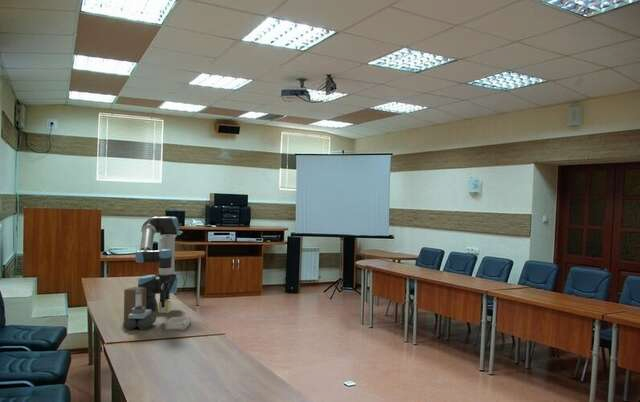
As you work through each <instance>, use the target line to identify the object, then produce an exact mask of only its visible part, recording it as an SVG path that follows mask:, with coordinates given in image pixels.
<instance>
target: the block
mask: <svg viewBox="0 0 640 402" xmlns="http://www.w3.org/2000/svg"><path fill="white" fill-rule="evenodd" d="M136 290H142V307H145V309H146V288H143V287H138V286H132V287H129V288H126V289H124V291H123V295H124V297H123V298H124V299H123V322H124V321H125V320H126V319H127V318H128V315H129V314H131V313H132V308H134V307H135V304H136Z"/></svg>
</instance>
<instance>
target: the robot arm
mask: <svg viewBox="0 0 640 402" xmlns="http://www.w3.org/2000/svg"><path fill="white" fill-rule="evenodd" d="M179 227H180V225H179V219H178V217H177V216H153V217H150V218H148V219H147V220H146V221H145V222H144V223H143V224H142V226H141V240H140V247H139V250H136V251H135V256H134V257H135V262H136V263H141V264H142V263H158V269H157V270H158V276H156V274H148V275H142V276H140V277H139V278H138V279H137V287H143V288H146V309H149V310H152V312H153V311H156V310H159V303H158V301H157V298H156V297H157V296H156V294H157V295H158V294H159V302H161V312H166V302H165V301H169V300H171V296H170V294H174V293H175V294H176V292H177V288H178V283H179V275H178V276H177V272H176V271H175V250H176V248H175V246H176V244H175V243H176V237H177V236H178V234H179V233H180V228H179ZM155 234H159V235H160V237H161V239H162V240H161V249H159V250H153V245H154V238H155Z"/></svg>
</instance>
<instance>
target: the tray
mask: <svg viewBox="0 0 640 402" xmlns="http://www.w3.org/2000/svg"><path fill="white" fill-rule="evenodd" d="M190 325H191V316H171V317H170V318H168V319H167V320H166V321H165V322H164V330H165V331H185V330H186V329H188V327H189V326H190Z"/></svg>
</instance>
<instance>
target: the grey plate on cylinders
mask: <svg viewBox="0 0 640 402" xmlns="http://www.w3.org/2000/svg"><path fill="white" fill-rule="evenodd" d="M152 312H153V311H152V310H149V309H145V307H142V309H135V307H134V308H132V313H131V314H129V315H128V318H127V319H126V320H125V321H124V320H123V327H124V328H125V329H126V330H128V331H131V330H134V329H135V328H137V327H138V329H139V330H141V331H145V330H148V329H149V328H150V327H151V326H152V325H153V324H154V323H156V320H157V318H156V317H157V316H156V315H155V314H154V313H152Z"/></svg>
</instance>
